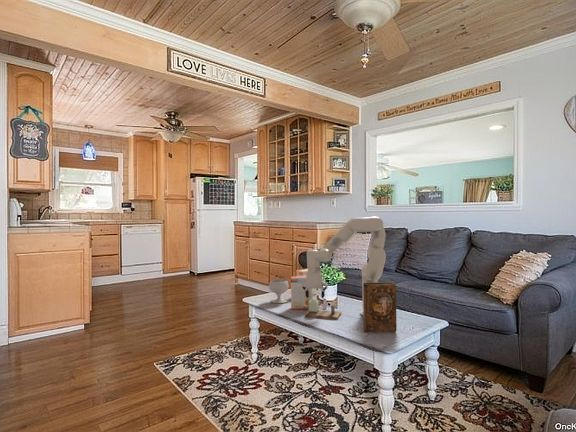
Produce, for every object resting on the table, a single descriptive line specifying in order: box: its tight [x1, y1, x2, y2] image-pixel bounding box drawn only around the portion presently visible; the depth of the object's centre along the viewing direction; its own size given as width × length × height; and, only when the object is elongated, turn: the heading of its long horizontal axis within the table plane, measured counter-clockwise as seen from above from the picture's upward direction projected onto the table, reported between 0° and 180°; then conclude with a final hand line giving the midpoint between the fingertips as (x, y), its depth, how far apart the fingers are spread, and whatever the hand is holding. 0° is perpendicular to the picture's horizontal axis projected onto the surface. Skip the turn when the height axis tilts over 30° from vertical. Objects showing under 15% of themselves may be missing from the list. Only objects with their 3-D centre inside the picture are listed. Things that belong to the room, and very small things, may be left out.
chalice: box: [268, 278, 290, 304], centre depth 249 cm, size 14×14×15 cm
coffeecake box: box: [295, 268, 318, 296], centre depth 268 cm, size 15×7×20 cm, turn 130°
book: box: [363, 282, 398, 334], centre depth 185 cm, size 16×6×25 cm, turn 92°
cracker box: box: [290, 275, 314, 311], centre depth 230 cm, size 14×6×21 cm, turn 84°
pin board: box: [304, 305, 342, 321], centre depth 214 cm, size 20×12×6 cm, turn 70°
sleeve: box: [308, 299, 320, 314], centre depth 216 cm, size 5×5×7 cm
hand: (315, 297), depth 216 cm, fingers open, 9 cm apart
